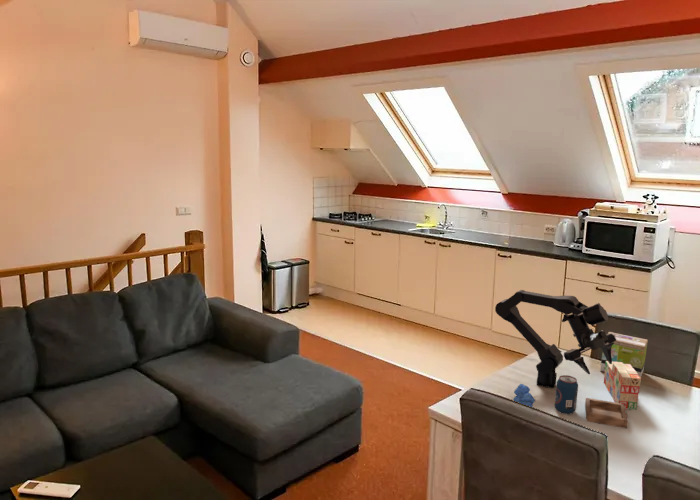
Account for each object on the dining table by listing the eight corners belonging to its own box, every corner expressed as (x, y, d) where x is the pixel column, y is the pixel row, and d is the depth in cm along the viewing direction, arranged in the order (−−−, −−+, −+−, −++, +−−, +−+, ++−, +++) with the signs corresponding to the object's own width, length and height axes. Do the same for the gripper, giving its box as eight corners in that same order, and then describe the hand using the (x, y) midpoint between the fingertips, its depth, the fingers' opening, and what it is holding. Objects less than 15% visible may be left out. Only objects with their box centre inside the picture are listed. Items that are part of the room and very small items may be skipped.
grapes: (541, 425, 181) (544, 391, 179) (521, 425, 180) (524, 392, 178) (526, 408, 192) (529, 376, 190) (508, 408, 192) (510, 377, 189)
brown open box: (586, 421, 184) (587, 413, 183) (585, 404, 195) (585, 397, 195) (627, 428, 180) (628, 420, 179) (623, 411, 191) (624, 404, 190)
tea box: (599, 371, 224) (603, 337, 221) (604, 363, 232) (608, 330, 229) (640, 381, 215) (645, 346, 212) (643, 372, 223) (648, 338, 220)
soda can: (552, 405, 195) (554, 374, 192) (571, 406, 194) (575, 375, 192) (557, 414, 188) (560, 382, 186) (578, 416, 187) (581, 383, 185)
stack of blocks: (602, 382, 214) (606, 353, 211) (620, 384, 213) (623, 354, 210) (618, 408, 193) (622, 376, 191) (637, 410, 192) (641, 378, 190)
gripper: (568, 338, 191) (588, 380, 189) (614, 318, 193) (634, 359, 191) (555, 339, 202) (573, 378, 200) (598, 319, 204) (617, 358, 202)
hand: (600, 368), depth 198 cm, fingers open, 9 cm apart
